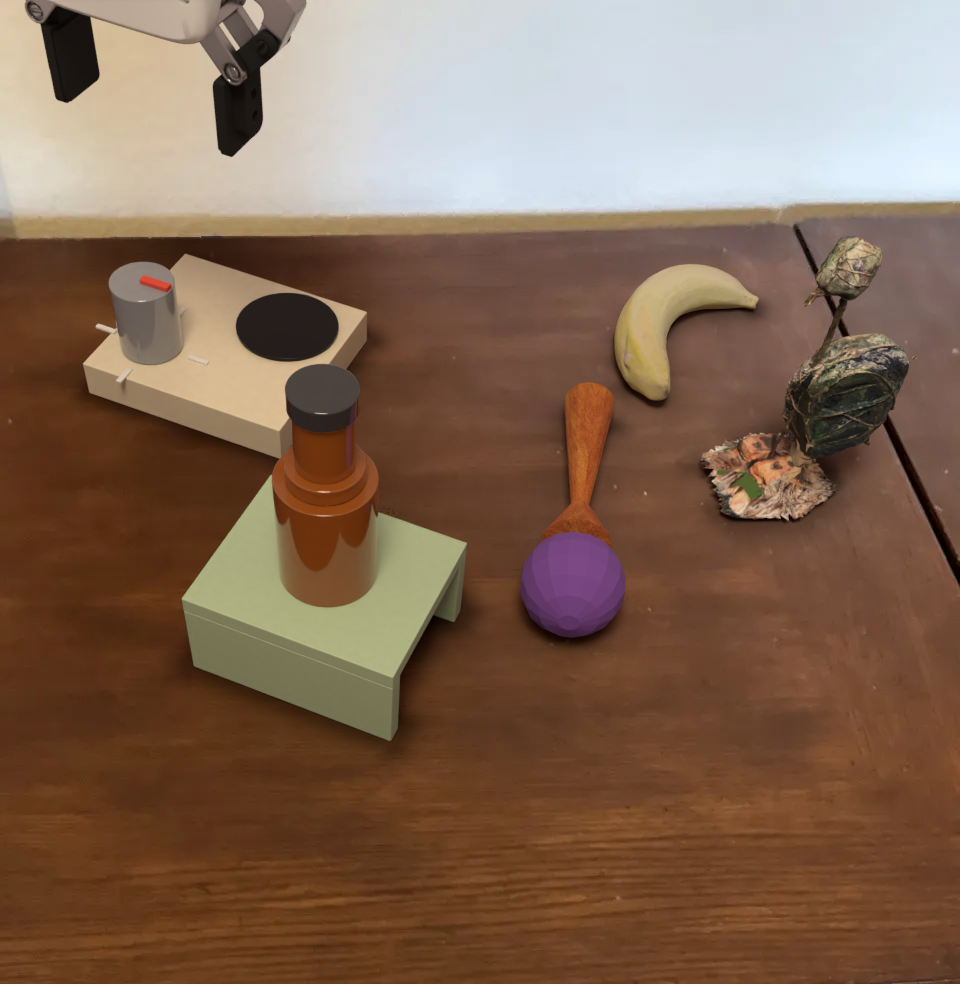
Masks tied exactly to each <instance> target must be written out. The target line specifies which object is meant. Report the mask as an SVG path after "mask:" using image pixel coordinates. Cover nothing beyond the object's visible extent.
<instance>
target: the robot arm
mask: <svg viewBox="0 0 960 984" xmlns="http://www.w3.org/2000/svg"><path fill="white" fill-rule="evenodd" d="M253 1H254V3H256V4H258V6H259V7H260V8H261V10H262V12H263V19H262V21H261V25H260V27H259V29H258V27H257V26H256V24H255V22H254V21H253V20H252V18H251V17H250V15H249V13H248V12H247V10H246V9H245V8H244V5H245V4H246V2H247V0H25V2H24V10H25V13H26V15H27V16H28V17H29V19H30V20H31V21H32V22H34V23H35V24H39V25H40V31H41V34H42V35H41V36H42V40H43V44H44V50H45V54H46V60H47V66H48V70H49V73H50V78H51V83H52V88H53V94H54V98H55V99H56V101H58V102H61V103H65V104H68V103H70V102H72V101H74V100H75V99H77V98H78V97H79V96H80V95H81V94H82V93H84V92H85V91H87V89H89V88H90V87H91V86H92V85H94V84H95V83H96V82H97V81H98V80H99V79H100V74H101V72H100V65H99V61H98V54H97V48H96V43H95V42H96V41H95V36H94V35H95V34H94V31H93V30H94V29H93V23H92V19H95V20H98V21H100V22H101V21H102V22H105V23H108V24H110V25H113V26H114V25H115V26H116V27H117V26H118V27H120V28H124V29H128V30H131V31H134V32H137V33H141V34H143V35H146V36H149V37H150V36H151V37H154V38H157V39H161V40H164V41H167V42H172V43H175V44H179V45H194V44H198V43H199V44H200V45H201V47H202V48H203V50H204V52H205V53H206V54H207V56H208V57H209V58H210V60H211V61H212V63H213V64H214V66H215V67H216V69H217V70H218V72H219V73H220V75H219V76H217V78H215V79H214V81H213V83H212V97H213V99H212V100H213V108H214V119H215V131H216V141H217V149H218V151H220V154H221V155H223V156H227V157H230V158H233V157H235V155H236V154H237V153H239V151H240V150H242V149H243V147H245V145H246V144H248V143H249V141H251V140H252V139H253V138H254V137H255V136H256V135H257V134H258V133H259V132H260V131H261V130H262V129H261V128H262V127H263V123H264V107H263V93H262V90H263V89H262V76H261V68H262V67H263V66H265V64H267V63H268V62H269V61H270V60H271V59H273V58H274V57H275V56H276V55H277V54H278V53H279V52H280V51H281V50H283V48H285V46H286V45H288V44H289V43H290V41H291V39H292V34H293V32H295V29H296V27H297V25H298V23H299V22H300V19H301V18H302V15H303V14H304V12H305V10H306V7H307V0H253ZM91 18H92V19H91ZM221 24H223V25H224V27H225V28H226V30H227V31H228V33H229V34H230V35H231V37H232V38H233V40H234V42H235V44H236V45H237V46H238V49H236V47H235V46H234V45H233V43H232V42H231V40H230V39H229V38H228V36H227V34H226V33H225V31H224V30H223V29H222V27H221V26H220V25H221Z"/></svg>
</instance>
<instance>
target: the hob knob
mask: <svg viewBox="0 0 960 984" xmlns="http://www.w3.org/2000/svg"><path fill="white" fill-rule="evenodd" d="M169 270H170V269H168V268H167V267H166V266H164V265H162V264H159V263H156V262H152V261H135V262H130V263H127V264H124V265H121V266H120V267H118V268H117V269H115V270H113V272H112V273H111V275H110V276H109V279H108V283H107V285H108V289H109V297H110V300H111V306H112V312H113V315H114V321H115V326H116V327H117V332H118V337H119V342H120V347H121V351H122V352H123V354H124V355H125V356H126V357H127V358H128V359H130V360H132V361H134V362H136V363H140V364H147V365H153V364H160V363H164V362H167V361H169V360H171V359H173V358H174V357H176V356H177V355H178V354H179V353H180V351H181V349H182V347H183V336H182V329H181V322H180V315H179V308H178V301H177V294H176V287H175V280H174V276H173V274H172V273H171V272H170V271H169ZM116 327H115V328H116Z"/></svg>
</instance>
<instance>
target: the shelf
mask: <svg viewBox="0 0 960 984" xmlns="http://www.w3.org/2000/svg"><path fill="white" fill-rule="evenodd" d="M467 547H468V543H467V542H465V541H463V540H460V539H457V538H454V537H451V536H449V535H446V534H444V533H443V534H442V533H440V532H437V531H435V530H431V529H429V528H425V527H422V526H420V525H417V524H415V523H411V522H408V521H405V520H403V519H401V518H397V517H394V516H391V515H388V514H385V513H383V512H380V511H378V560H377V576H376V579H375V582H374V584H373V586H372V587H371V588H370V590H369V591H368V592H367V593H366V594H365V595H364V596H362V597H361V598H359V599H358V600H356V601H354V602H352V603H350V604H347V605H343V606H339V607H317V606H312V605H309V604H306V603H304V602H301V601H300V600H298V599H296V598H295V597H293V596H292V595H291V594H290V593H289V592H288V591H287V590H286V589H285V587H284V586H283V584H282V582H281V579H280V575H279V566H278V553H277V541H276V528H275V516H274V503H273V491H272V474H270V475H269V477H268V478H267V479H266V481H265V482H264V483H263V485H261V487H260V489H259V490H258V492H257V493H256V495H255V496H254V498H253V499H252V500H251V501H250V503H249V504H248V505H247V507H246V508H245V510H244V511H243V512H242V514H241V516H240V517H239V518H238V520H237V521H236V522H235V524H234V525H233V526H232V527H231V529H230V531H229V532H228V534H227V535H226V536H225V538H224V539H223V540H222V542H221V543H220V545H219V546H218V547H217V548H216V550H215V551H214V553H213V554H212V556H211V557H210V558H209V560H208V561H207V563H206V564H205V566H204V567H203V568H202V569H201V571H200V572H199V574H197V577H195V579H194V580H193V582H192V583H191V585H190V586H189V587H188V589H187V590H186V592H185V593H184V594H183V596H182V597H181V605H182V610H183V614H184V620H185V625H186V631H187V637H188V643H189V648H190V653H191V659H192V663H193V667H195V668H198V669H200V670H202V671H205V672H208V673H210V674H213V675H216V676H218V677H220V678H224V679H226V680H229V681H231V682H233V683H236V684H239V685H242V686H245V687H246V688H249V689H252V690H255V691H258V692H260V693H263V694H266V695H267V696H270V697H273V698H276V699H278V700H282V701H284V702H286V703H289V704H291V705H294V706H297V707H299V708H302V709H305V710H307V711H310V712H313V713H314V714H318V715H320V716H322V717H325V718H328V719H331V720H332V721H333V720H334V721H336V722H338V723H341V724H344V725H347V726H349V727H351V728H355V729H356V730H359V731H362V732H365V733H367V734H370V735H372V736H375V737H378V738H380V739H383V740H385V741H388V742H391V741H392V740H393V739H394V736H395V735H396V733H397V731H398V729H399V712H400V711H399V708H400V687H401V686H400V684H401V681H400V680H401V675H402V672H403V670H404V668H405V667H406V665H407V664H408V662H409V660H410V658H411V655H412V654H413V652H414V650H415V649H416V647H417V645H418V643H419V642H420V640H421V637H422V636H423V634H424V632H425V630H426V628H427V627H428V625H429V623H430V622H431V620H432V618H433V616H435V617H438V618H441V619H443V620H446V621H449V622H452V623H455V622H456V620H457V619H458V616H459V615H460V613H461V608H462V599H463V588H464V580H465V569H466V559H467V550H468V549H467Z"/></svg>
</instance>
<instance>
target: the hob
mask: <svg viewBox="0 0 960 984" xmlns="http://www.w3.org/2000/svg"><path fill="white" fill-rule="evenodd" d="M168 270H169V271H170V272H171V273H172V274H173V276H174V280H175V287H176V294H177V301H178V308H179V315H180V322H181V329H182V336H183V347H182V349H181V351H180V353H179V354H178V355H177V356H176V357H174V358H173V359H171V360H169V361H167V362H164V363H160V364H153V365H147V364H140V363H136V362H134V361H132V360H130V359H128V358H127V357H126V356H125V355H124V354H123V352H122V351H121V347H120V342H119V337H118V332H117V327H115V328H113V327H110V326H107V325H105V324H101V323H96V325H95V326H94V327H95V329H97V330H99V331H102V332H105V333H108V334H109V335H108V336H107V337H106V338H105V339H104V340H103V341H102V342H101V343H100V345H99V346H97V348H96V349H95V350H94V351H93V352H92V353H91V354H90V355H89V356H88V357H87V358H86V360H85V361H84V362H83V363H82V367H83V371H84V375H85V380H86V384H87V388H88V393H89V394H91V395H94V396H97V397H101V398H102V399H105V400H109V401H111V402H114V403H117V404H120V405H123V406H125V407H129V408H131V409H135V410H137V411H140V412H143V413H146V414H149V415H151V416H155V417H158V418H160V419H163V420H167V421H168V422H172V423H175V424H177V425H181V426H183V427H187V428H190V429H192V430H195V431H198V432H200V433H204V434H207V435H209V436H213V437H216V438H218V439H220V440H221V439H222V440H224V441H227V442H230V443H232V444H236V445H239V446H242V447H244V448H247V449H249V450H253V451H255V452H259V453H262V454H264V455H268V456H270V457H273V458H276V459H278V460H279V459H280V458H281V457H282V456H283V455H284V454H285V453H286V452H287V451H288V450H289V448H290V447H291V446H292V429H291V419H290V418H289V416H288V414H287V412H286V402H285V385H286V382H287V380H288V378H289V377H290V376H291V375H292V374H293V373H294V372H295V371H297V370H299V369H301V368H303V367H305V366H309V365H313V364H331V365H336V366H339V367H342V368H344V369H346V370H347V369H348V368H349V366H350V365H351V363H352V362H353V360H354V359H355V358H356V356H357V355H358V354H359V352H360V351H361V350H362V349H363V347H364V345H365V344H366V343H367V341H368V312H367V311H366V310H363V309H359V308H357V307H353V306H349V305H346V304H344V303H340V302H337V301H335V300H331V299H328V298H326V297H321V296H319V295H316V294H313V293H309V292H306V291H304V290H301V289H297V288H294V287H290V286H287V285H285V284H281V283H278V282H275V281H271V280H268V279H266V278H263V277H259V276H256V275H253V274H250V273H247V272H243V271H241V270H238V269H234V268H232V267H229V266H225V265H222V264H219V263H216V262H212V261H209V260H206V259H203V258H200V257H197V256H193V255H191V254H188V253H184V254H183V256H181V258H179V260H178V261H177V262H175V264H174V265H173V266H172V267H171V268H170V269H168ZM276 293H298V294H304V295H308V296H311V297H314V298H316V299H318V300H320V301H322V302H324V303H325V304H327V305H328V306H329V307H330V308H331V309H332V310H333V311H334V313H335V314H336V316H337V319H338V323H339V332H338V336H337V338H336V340H335V342H334V343H333V345H332V346H331V347H330V348H329V349H327V350H326V351H325V352H323V353H322V354H320V355H318V356H315V357H313V358H310V359H306V360H302V361H294V362H281V361H273V360H269V359H265V358H262V357H260V356H257V355H255V354H253V353H252V352H250V351H249V350H247V349H246V348H245V347H244V346H243V345H242V343H241V342H240V341H239V339H238V336H237V333H236V320H237V317H238V315H239V313H240V312H241V310H242V309H243V308H244V307H245V306H246V305H248V304H249V303H251V302H252V301H254V300H256V299H258V298H260V297H263V296H266V295H270V294H276Z"/></svg>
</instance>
